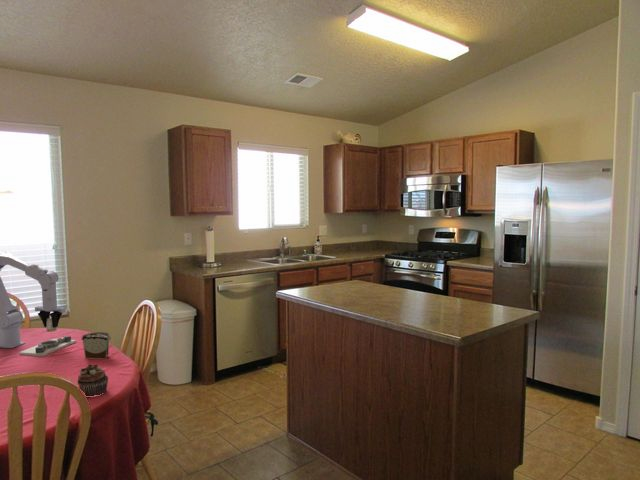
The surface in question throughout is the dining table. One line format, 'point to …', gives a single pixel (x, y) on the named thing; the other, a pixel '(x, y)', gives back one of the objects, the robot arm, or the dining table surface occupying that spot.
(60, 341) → the shaft
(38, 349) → the shaft
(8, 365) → the dining table surface
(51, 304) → the robot arm
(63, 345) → the shaft board
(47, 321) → the coupler
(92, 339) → the food container
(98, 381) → the cupcake
